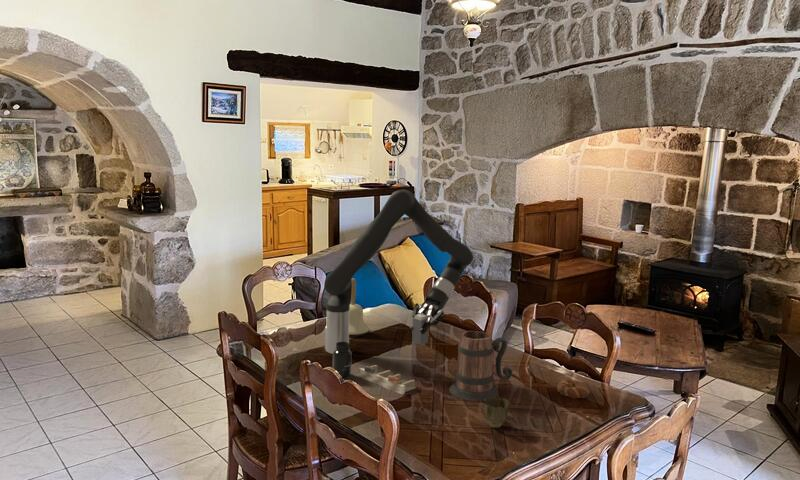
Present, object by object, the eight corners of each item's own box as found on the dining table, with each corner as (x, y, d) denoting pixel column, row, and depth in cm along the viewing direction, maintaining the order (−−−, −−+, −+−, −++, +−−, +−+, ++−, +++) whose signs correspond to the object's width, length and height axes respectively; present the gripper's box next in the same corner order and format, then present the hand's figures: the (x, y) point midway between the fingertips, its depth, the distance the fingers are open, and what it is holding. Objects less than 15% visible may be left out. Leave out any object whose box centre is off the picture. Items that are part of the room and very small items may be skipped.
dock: (358, 376, 213) (359, 364, 212) (373, 371, 218) (373, 359, 217) (402, 394, 198) (402, 381, 197) (416, 389, 203) (417, 376, 202)
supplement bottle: (348, 379, 210) (348, 347, 208) (329, 377, 211) (330, 345, 209) (353, 373, 216) (354, 341, 215) (335, 371, 218) (336, 339, 216)
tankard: (464, 403, 192) (467, 344, 189) (440, 385, 207) (442, 330, 204) (524, 393, 202) (527, 337, 199) (496, 376, 217) (499, 324, 214)
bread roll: (548, 389, 207) (549, 379, 207) (573, 385, 212) (574, 375, 211) (570, 402, 196) (571, 391, 196) (596, 397, 201) (597, 387, 200)
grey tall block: (412, 342, 212) (413, 315, 211) (419, 339, 215) (420, 313, 213) (420, 344, 209) (421, 317, 208) (428, 342, 212) (429, 315, 211)
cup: (480, 420, 180) (481, 396, 179) (504, 420, 180) (505, 395, 179) (486, 432, 172) (487, 406, 171) (510, 432, 173) (512, 406, 172)
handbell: (328, 333, 264) (328, 278, 260) (349, 325, 276) (350, 273, 273) (355, 339, 255) (356, 283, 251) (376, 332, 267) (377, 278, 264)
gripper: (421, 283, 219) (397, 321, 213) (451, 290, 210) (427, 330, 203) (430, 295, 224) (407, 332, 217) (459, 302, 214) (436, 341, 207)
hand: (417, 331), depth 210 cm, fingers closed on grey tall block, 4 cm apart
